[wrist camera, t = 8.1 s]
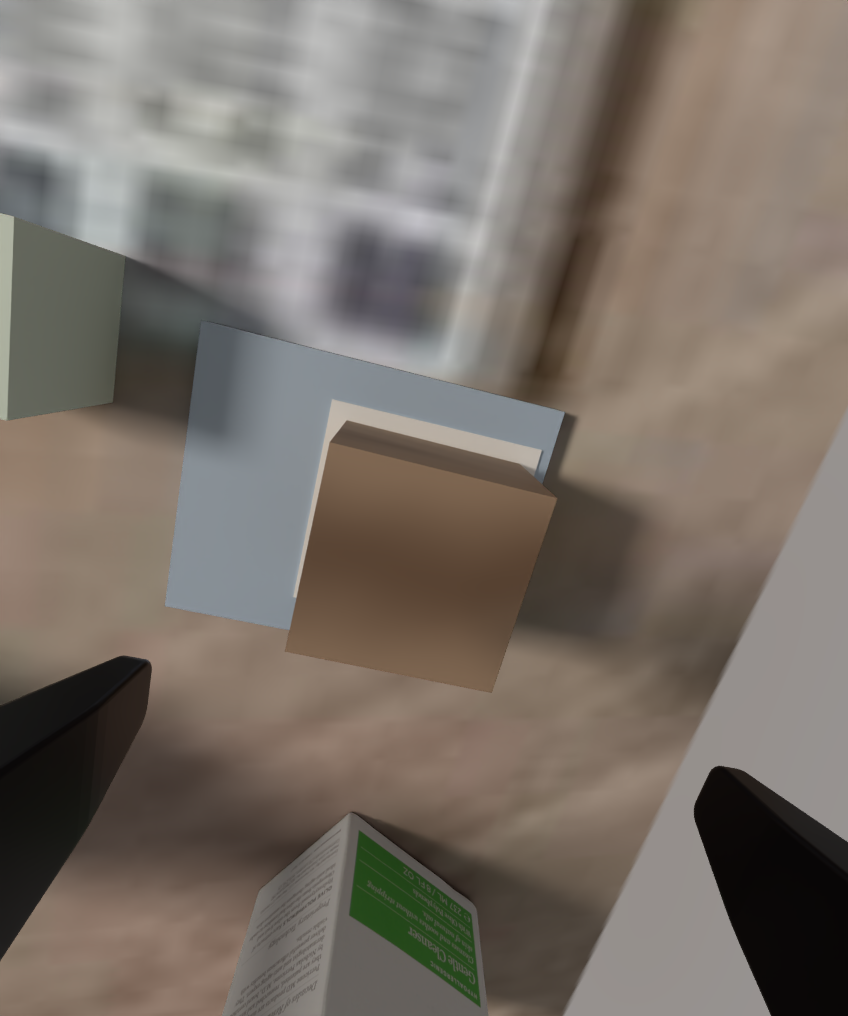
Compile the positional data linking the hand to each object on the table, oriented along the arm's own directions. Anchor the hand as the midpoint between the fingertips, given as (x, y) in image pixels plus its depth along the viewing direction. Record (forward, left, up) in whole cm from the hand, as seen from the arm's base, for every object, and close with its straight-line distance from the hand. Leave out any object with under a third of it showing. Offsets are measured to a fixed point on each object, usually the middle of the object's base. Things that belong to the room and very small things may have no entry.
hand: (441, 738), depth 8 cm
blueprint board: (0, +2, -12) cm, 12 cm away
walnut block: (0, 0, -11) cm, 11 cm away
